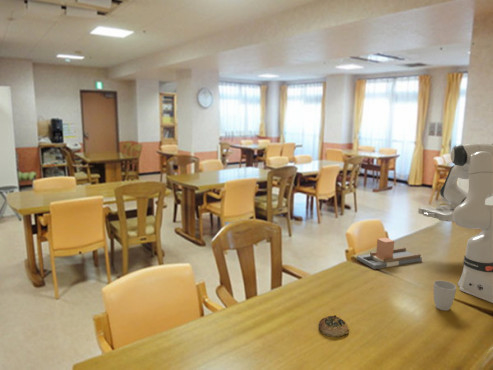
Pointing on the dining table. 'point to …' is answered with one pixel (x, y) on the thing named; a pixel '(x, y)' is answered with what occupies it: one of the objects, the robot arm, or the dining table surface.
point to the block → (384, 248)
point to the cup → (444, 294)
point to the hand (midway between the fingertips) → (425, 214)
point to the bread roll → (333, 326)
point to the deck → (390, 259)
